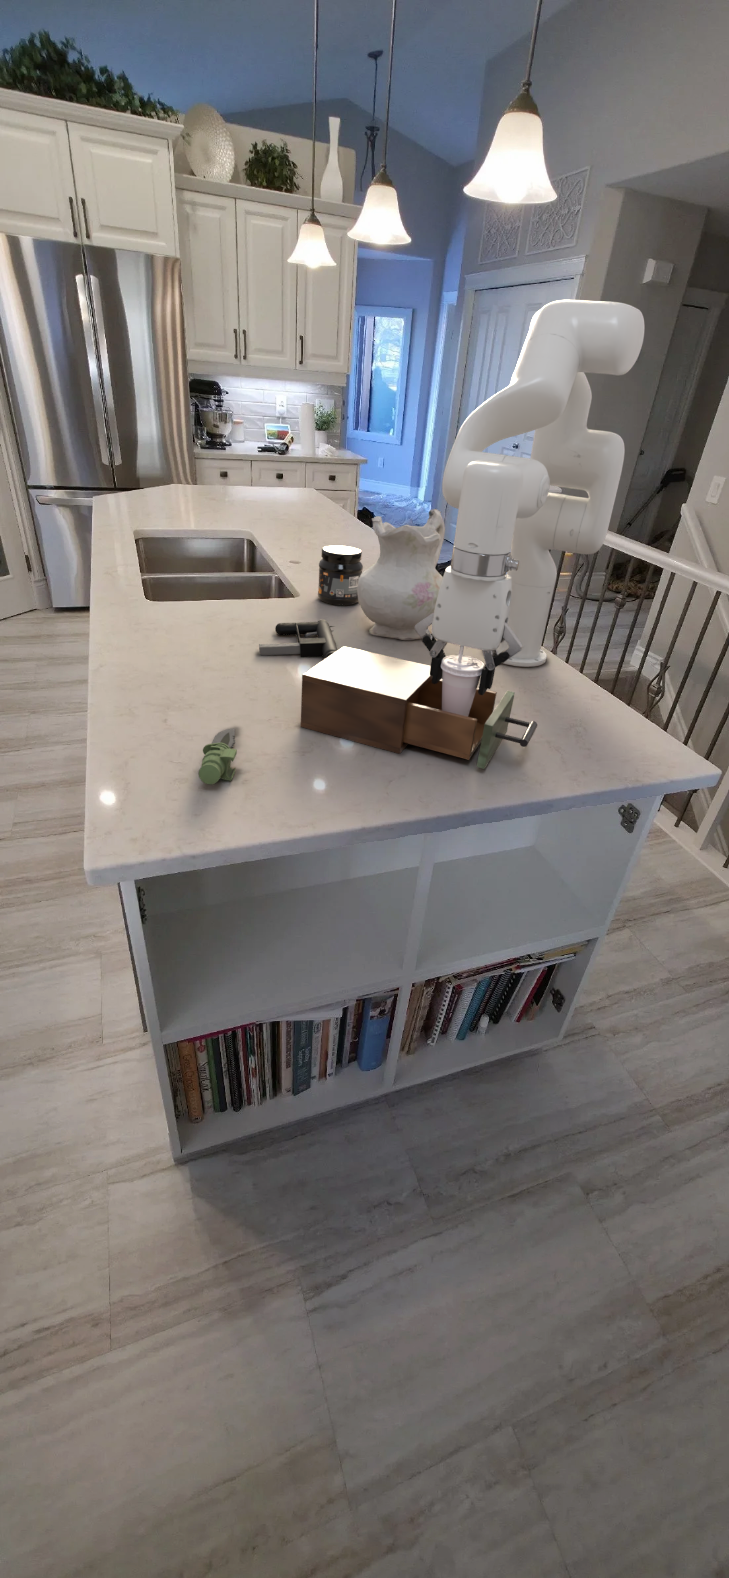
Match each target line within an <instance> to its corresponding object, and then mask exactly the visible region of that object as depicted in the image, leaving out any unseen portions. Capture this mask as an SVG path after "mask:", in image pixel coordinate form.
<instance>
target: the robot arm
mask: <svg viewBox="0 0 729 1578" xmlns="http://www.w3.org/2000/svg"><path fill="white" fill-rule="evenodd" d="M645 327H646V326H645V319H644V315H643V313H642V311H641V309H638V308H637V307H635V306H633V305H631V304H628V303H624V302H618V301H606V300H605V301H603V300H584V299H559V300H554V301H551V302H549V303H547V304H545V305H544V306H543V307H541V308H540V309H539V310H537V311H536V312H535V313H534V315H533V316H532V319H531V321H530V324H529V330H528V333H527V336H526V338H525V341H524V343H523V346H522V349H521V352H520V355H519V358H518V360H517V362H516V366H515V368H514V371H513V373H512V376H511V379H510V382H509V385H508V386H506V387H505V388H503V389H502V390H500V391H498V392H497V393H495V394H493V395H492V396H490V397H489V398H488V399H487V400H485V401H484V402H482V404H480V405H479V406H478V407H477V408H476V409H475V410H473V411H472V412H471V413H470V414H469V415H468V416H467V418H466V419H465V420H464V421H463V423H462V425H461V426H460V428H459V430H458V432H457V435H456V437H455V439H454V441H453V442H454V443H453V445H452V448H451V450H450V452H449V455H448V458H447V461H446V464H445V467H444V471H443V475H442V482H441V483H442V485H441V488H442V489H441V490H442V495H443V499H444V500H445V502H446V503H447V504H448V506H451V507H452V508H454V509H458V511H457V517H456V525H455V531H454V540H453V546H452V552H451V553H452V554H451V559H450V560H451V561H450V565H449V566H447V567H446V568H445V571H444V573H443V575H442V577H443V579H442V582H441V585H440V589H439V593H438V597H437V601H436V605H435V610H434V612H433V613H432V614H430V615H429V616H427V617H426V618H424V619H423V620H422V621H420V622H419V623H417V624H416V625H415V630H416V632H417V633H418V635H419V636H420V638H421V642H422V644H423V645H424V646H425V648H426V649H427V650H428V652H429V656H430V658H431V661H430V666H431V668H430V675H431V676H432V684H437V683H438V682H439V681H440V680H441V679H442V673H443V670H442V668H441V663H442V659H443V658H444V657H446V656H447V655H446V654H445V652H444V651H445V650H444V649H445V647H446V646H447V644H452V645H456V646H459V647H460V646H464V648H470V649H475V650H479V651H481V652H482V656H483V659H484V662H485V663H484V664H485V667H484V668H483V669H482V673H481V676H480V680H479V683H478V688H479V690H478V694H479V695H483V694H484V693H485V692H486V690H491V688H492V686H493V683H494V678H495V672H496V668H497V667H499V666H501V665H502V664H503V665H506V666H507V665H508V666H512V667H520V668H531V667H532V668H533V667H538V666H541V665H544V664H545V663H546V662H547V657H548V654H547V653H546V652H545V651H544V649H542V644H543V640H544V636H545V631H546V626H547V621H548V617H549V613H550V609H551V605H552V604H551V603H552V601H553V600H552V599H553V595H554V591H555V586H556V581H557V577H558V576H557V575H558V572H557V571H558V570H557V566H556V563H555V561H554V559H553V556H552V554H551V552H550V550H552V551H555V550H556V551H560V552H567V553H573V554H580V555H593V554H595V553H597V552H598V551H600V550H601V548H602V547H603V545H604V543H605V540H606V537H607V534H608V530H609V526H610V522H611V518H612V514H613V510H614V505H615V501H616V497H617V493H618V488H619V484H620V480H621V476H622V472H623V466H624V461H625V452H626V450H625V443H624V439H623V438H622V437H621V436H620V435H619V434H618V433H617V432H616V433H615V432H612V431H608V430H598V429H590V428H589V427H588V426H587V424H588V417H589V414H590V409H591V405H592V399H593V396H592V395H593V393H592V389H591V386H590V383H589V381H588V377H587V376H586V373H588V374H599V375H612V376H624V375H625V374H627V373H628V372H630V370H631V369H632V368H633V367H634V365H635V364H636V361H638V358H639V355H640V353H641V350H642V346H643V344H644V338H645ZM533 431H534V433H533V439H532V444H531V445H532V446H531V453H530V458H529V457H522V456H514V455H508V454H501V453H494V452H486V451H485V450H486V449H487V448H488V447H490V446H492V445H494V444H496V443H499V442H500V441H503V440H505V439H509V438H512V437H516V436H519V435H524V434H527V433H530V432H533ZM550 486H551V487H558V488H564V489H573V490H580V491H585V492H586V493H587V496H588V497H581V496H574V495H568V494H563V493H556V492H550ZM430 626H431V632H430V630H429V627H430Z"/></svg>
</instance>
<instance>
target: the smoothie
mask: <svg viewBox="0 0 729 1578" xmlns="http://www.w3.org/2000/svg"><path fill="white" fill-rule="evenodd" d="M464 649H465V646H460V645H459V651H458V654H450V655H446V656H445V657H444V658H443V659H442V663H441V668H442V670H443V673H442V710H443V711H447V712H451V713H455V714H459V715H463V716H467V717H468V715H469V712H470V709H471V705H472V702H473V699H474V696H475V693H476V689H477V688H478V687H479V684H480V678H481V673H482V669H483V668H484V667H485V664H486V663H484V662H483V661H482V660H480V659H479V658H477V657H473V656H470V655H465V654H464Z"/></svg>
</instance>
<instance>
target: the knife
mask: <svg viewBox="0 0 729 1578" xmlns="http://www.w3.org/2000/svg"><path fill="white" fill-rule="evenodd" d="M235 735H236V729H235V728H227V729H223V730H222V731H219V732H218V733H216V734H215V736H214V737H213V739H212V741H211V743H207V744H205V745H204V747H203V748H202V753H203V755H204V757H202V760H201V765H200V769H199V770H198V777H199V780H200V781H201V782H202V783H204V784H205V785H214V784H217V783H218V782H219V780H220V779H221V780H224V781H231V782H232V780H233V778H234V776H235V774H236V767H234V768H232V767H231V762H233V763H234V761H235V758H236V757H237V754H238V749H236V748H234V746H235V744H236V738H235Z"/></svg>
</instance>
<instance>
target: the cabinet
mask: <svg viewBox="0 0 729 1578" xmlns="http://www.w3.org/2000/svg"><path fill="white" fill-rule="evenodd" d="M430 668H431V665H428V664H424V663H420V662H415V661H410V660H406V659H402V658H397V657H393V656H389V655H386V654H385V655H384V654H380V653H376V652H371V651H367V650H363V649H359V648H353V647H349V646H345V645H344V646H342V647H341V648H339V649H338V650H337V651H336V652H335V653H333V654H332V655H330V656H329V657H327V658H326V659H324V658H323V660H321V661H320V662H318V663H317V664H316V665H314V666H312V667H311V668H310V669H307V671H305V672H304V673H302V674H301V701H300V702H301V703H300V705H301V706H300V728H304V729H308V730H312V731H315V732H319V733H322V734H325V735H329V736H333V737H337V738H340V739H344V740H347V741H350V742H354V743H358V744H362V745H366V746H369V747H373V748H376V749H380V750H384V751H387V752H390V753H395V754H399V755H400V754H401V753H402V752H403V751H404V750H405V749H406V747H407V746H408V745H409V744H408V743H404V742H403V737H404V728H405V720H406V711H407V703H408V702H409V701H410V700H411V699H412V698H413V697H414V696H415V695H416V694H417V693H418V692H419V691H420V690H421V689H422V688H423V687H424V686H425V685H426V684H427V683H428V682H429V681H430V680H431V679H432V676H431V675H430Z"/></svg>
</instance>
